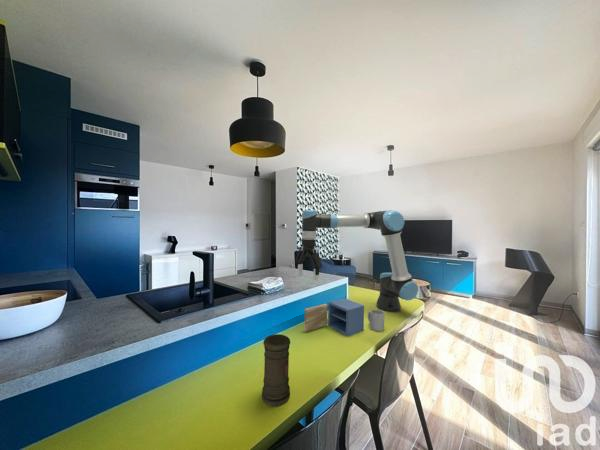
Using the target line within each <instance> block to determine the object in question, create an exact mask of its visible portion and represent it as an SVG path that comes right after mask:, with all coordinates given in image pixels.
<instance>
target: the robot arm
mask: <svg viewBox="0 0 600 450" xmlns="http://www.w3.org/2000/svg"><path fill="white" fill-rule="evenodd" d="M301 221H302V223H301V225H302V226H301V227H302V228H301V229H302V230H301V234H302V235H301V238H302V239H301V246H299V247H298V252H297V255H296V257H295V259H294V260H295V263H296V264H297V277H302V276H303V273H304V272H303V270H304V269H303V267H304V266H303V265H304V264H303V262H304V261H305V259H306V258H307V257H309V259H310V260H311V263H312V264H313V267H314V268H313V280H312V281H313V282H315V283H316V282H319V275H320V269H322V268H323V264H322V260H321V257H320V251H319V248H315V247H316V245H317V241H316V238H317V229H337V228H351V227H352V228H357V227H358V228H359V227H362V228H363V229H371V230H372V229H374V230H378V231H379V230H380V233H381V236H382V237H384V239H385V244H386V247H387V249H386V250H387V254H388V257H389V258H388V259H389V263H390V267H391V272H382V273H380V275H379V295H378V299H377V301H376V308H378V310H381V311H384V312H385V311H386V312H393V313H395V312H400V311H402V304H401V303H400V302H401V301H400V299H402V300H404V301H412V300H414V299H415V298H416V296H417V295H418V293H419V285H418V284H417V283H416V282H415V281H413V277H412V275H411V273H409V271H408V267H407V266H408V265H407V262H406V257H405V252H404V251H405V250H404V248H403V243H402V238H401V234H402V232H403V228H404V226H405V218H404V216H403V215H402V214H401V212H399V211H397V210H380V211H373V212H372V211H371V212H363V214H328V213H327V214H324V213H323V214H319V213H318V211H317V210H315V209H304V210H303V211H302V217H301Z"/></svg>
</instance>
